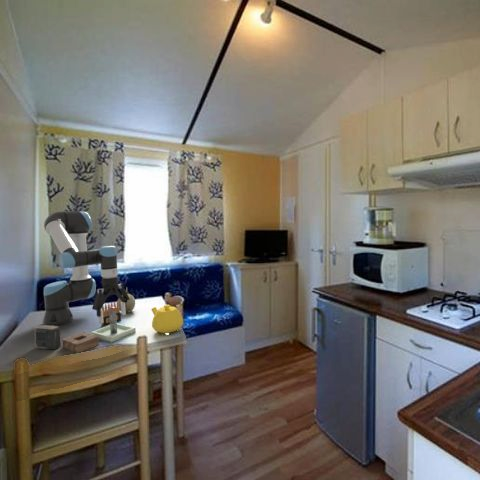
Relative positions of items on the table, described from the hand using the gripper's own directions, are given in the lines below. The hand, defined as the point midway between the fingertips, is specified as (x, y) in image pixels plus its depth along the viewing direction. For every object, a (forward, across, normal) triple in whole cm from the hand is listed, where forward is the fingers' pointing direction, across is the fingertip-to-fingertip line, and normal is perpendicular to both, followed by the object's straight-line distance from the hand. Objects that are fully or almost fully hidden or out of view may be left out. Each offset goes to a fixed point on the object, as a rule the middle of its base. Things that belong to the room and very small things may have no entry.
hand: (112, 318), depth 147 cm
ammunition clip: (+9, +10, +16) cm, 21 cm away
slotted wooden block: (+8, -16, +2) cm, 18 cm away
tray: (+8, 0, 0) cm, 8 cm away
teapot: (+9, +16, -20) cm, 27 cm away
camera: (+9, -24, +15) cm, 30 cm away
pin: (+8, 0, 0) cm, 8 cm away
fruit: (+9, +27, +24) cm, 37 cm away
